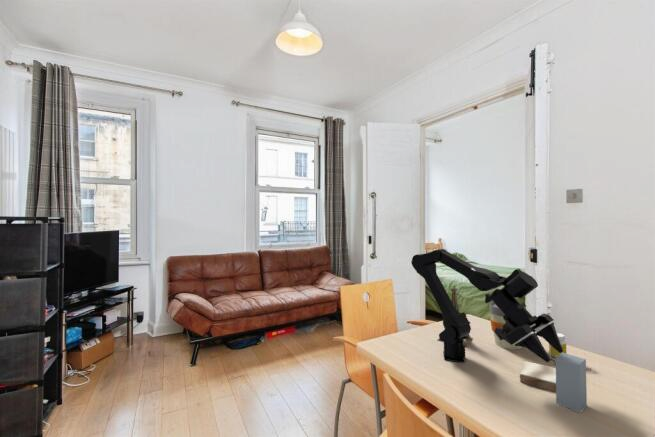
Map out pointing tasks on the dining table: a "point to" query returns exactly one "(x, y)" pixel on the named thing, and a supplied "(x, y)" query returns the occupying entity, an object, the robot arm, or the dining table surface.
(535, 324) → the robot arm
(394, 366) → the dining table surface
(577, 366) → the slate block
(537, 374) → the plinth
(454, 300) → the eiffel tower
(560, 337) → the supplement bottle
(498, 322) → the reusable coffee cup
